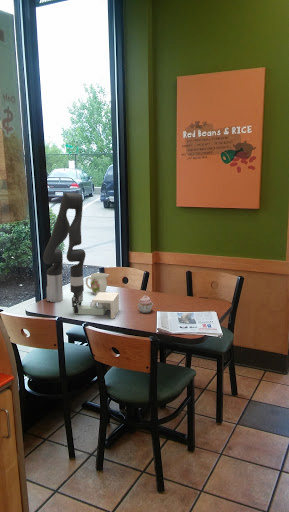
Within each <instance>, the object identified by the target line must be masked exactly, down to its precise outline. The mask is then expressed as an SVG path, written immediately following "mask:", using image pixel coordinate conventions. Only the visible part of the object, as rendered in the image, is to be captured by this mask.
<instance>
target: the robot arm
mask: <svg viewBox="0 0 289 512" xmlns="http://www.w3.org/2000/svg"><path fill="white" fill-rule="evenodd" d="M83 204H84V200H83V196H82V194H80V193H78V192H77V193H76V192H65V193H64V194H63V195H62V197H61V201H60V206H59V210H58V214H57V218H56V220H55V223H54V226H53V229H52V232H51V235H50V238H49V240H48V243H47V245H46V247H45V250H44V252H43V255H42V256H43V258H42V259H43V262H44V263H45V264H46V265H52V266H51V267H49V268H48V269H47V270H46V277H47V278H46V282H47V286H46V302H49V301H50V303H59V302H62V301H64V296H63V295H64V293H63V274H62V273H63V269H64V268H63V267H64V266H63V260H64V259H63V252H62V249H60V248H58V247H59V246H60V245H61V244H62V243H63V242H65V241H66V239H67V238H68V248H67V252H66V260H67V261H68V262H70V263H75V262H78V263H77V264H74V265H72V266H70V281H69V283H70V284H69V285H70V293H73V295H72V297H71V305H72V306H71V307H72V308H73V307H74V313H75V314H74V315H79V314H78V305H82V304H83V301H84V297H83V296H84V293H83V292H84V291H85V289H84V288H85V287H84V286H85V285H84V263H85V259H86V255H87V254H86V251H85V249H83V248H80V249H79V248H78V249H77V248H76V249H75V247H76V246H80V245H81V244H82V219H83V209H84V208H83V206H84V205H83ZM69 210H74V211H75V214H74V217H73V220H72V222H71V224H70V222H69V219H68V217H67V214H68V213H67V212H68V211H69Z"/></svg>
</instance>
